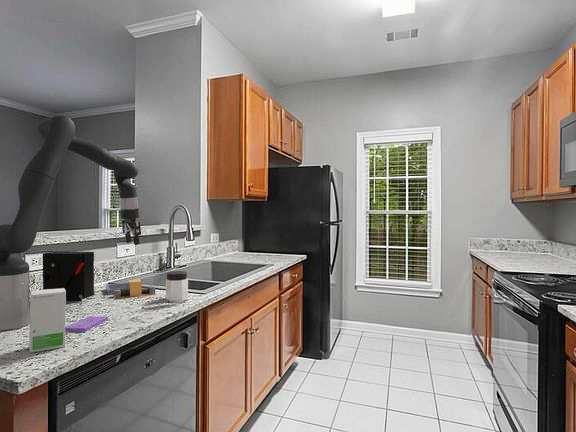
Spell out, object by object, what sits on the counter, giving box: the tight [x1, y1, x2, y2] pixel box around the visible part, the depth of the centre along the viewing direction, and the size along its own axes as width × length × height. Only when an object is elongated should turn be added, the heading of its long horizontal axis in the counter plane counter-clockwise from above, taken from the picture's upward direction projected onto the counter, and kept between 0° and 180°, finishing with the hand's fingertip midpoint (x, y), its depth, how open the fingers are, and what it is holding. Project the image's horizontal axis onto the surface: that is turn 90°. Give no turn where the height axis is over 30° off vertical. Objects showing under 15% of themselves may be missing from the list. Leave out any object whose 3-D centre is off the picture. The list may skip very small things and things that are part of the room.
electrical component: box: [42, 250, 96, 302], centre depth 150 cm, size 18×10×20 cm, turn 84°
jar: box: [165, 270, 189, 305], centre depth 147 cm, size 9×8×12 cm
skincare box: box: [28, 288, 67, 354], centre depth 98 cm, size 8×7×16 cm
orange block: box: [127, 278, 142, 296], centre depth 153 cm, size 6×4×6 cm
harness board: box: [112, 285, 157, 300], centre depth 153 cm, size 16×10×4 cm, turn 122°
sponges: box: [65, 315, 109, 333], centre depth 116 cm, size 7×13×2 cm, turn 176°
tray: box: [105, 282, 128, 296], centre depth 161 cm, size 12×12×3 cm
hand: (132, 243), depth 159 cm, fingers open, 8 cm apart
